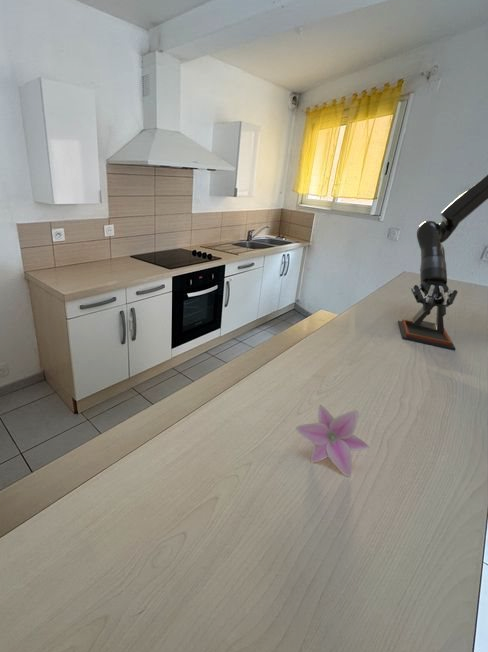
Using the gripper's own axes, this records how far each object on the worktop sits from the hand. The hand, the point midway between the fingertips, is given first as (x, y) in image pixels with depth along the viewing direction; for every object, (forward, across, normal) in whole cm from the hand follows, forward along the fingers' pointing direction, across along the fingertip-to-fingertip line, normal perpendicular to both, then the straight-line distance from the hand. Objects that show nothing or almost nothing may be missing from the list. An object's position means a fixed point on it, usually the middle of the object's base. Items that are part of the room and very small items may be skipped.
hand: (434, 315), depth 110 cm
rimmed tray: (+5, 0, +8) cm, 9 cm away
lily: (+53, -40, -41) cm, 78 cm away
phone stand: (+2, 0, +5) cm, 6 cm away
